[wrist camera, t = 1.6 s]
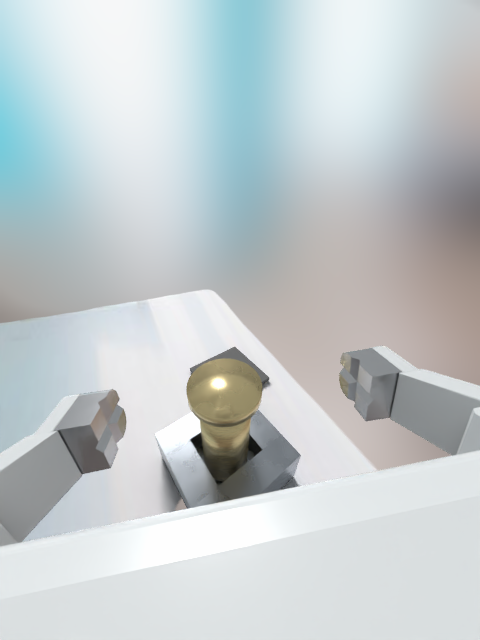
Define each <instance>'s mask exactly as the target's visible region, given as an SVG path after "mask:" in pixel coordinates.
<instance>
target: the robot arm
mask: <svg viewBox="0 0 480 640" xmlns="http://www.w3.org/2000/svg"><path fill="white" fill-rule="evenodd" d="M340 363H341V364H342V365H343V366H344V368H343V369H342V370H341V372H340V375H339V376H340V377H339V381H340V386H341V389H342V391H343V393H344V394H345V396H346V397H347V398H348V399H350V400H353V401H355V406H354V407H355V408H356V410H357V411H358V412H359V413H360V415H361V416H362V417H363V418H364V419H365V421H371V420H377V419H384V418H390V419H391V420H393V421H395V422H396V423H398V424H400V425H402V426H403V427H405V428H407V429H408V430H410V431H412V432H414V433H415V434H417V435H419V436H420V437H422V438H424V439H425V440H427V441H429V442H430V443H432V444H434V445H436V446H437V447H439V448H441V449H442V450H444V451H446V452H447V453H449V454H451V455H452V456H448V457H443V458H438V459H433V460H428V461H423V462H418V463H413V464H408V465H403V466H398V467H393V468H388V469H383V470H378V471H373V472H368V473H363V474H358V475H353V476H348V477H343V478H338V479H333V480H328V481H323V482H318V483H314V484H309V485H304V486H299V487H294V488H289V489H284V490H279V491H274V492H269V493H264V494H259V495H254V496H249V497H244V498H239V499H234V500H229V501H224V502H219V503H214V504H209V505H204V506H199V507H194V508H189V509H184V510H179V511H174V512H169V513H164V514H159V515H154V516H149V517H144V518H139V519H134V520H129V521H124V522H119V523H114V524H109V525H104V526H99V527H94V528H89V529H84V530H79V531H74V532H69V533H64V534H59V535H54V536H49V537H44V538H39V539H34V540H29V541H25V542H22V541H23V540H24V539H25V538H26V537H27V535H28V534H29V533H30V532H31V531H32V530H33V529H34V528H35V527H36V526H37V525H38V523H39V522H40V521H41V520H42V519H43V518H44V517H45V516H46V515H47V514H48V513H49V511H50V510H51V509H52V508H53V507H54V506H55V505H56V504H57V503H58V502H59V501H60V499H61V498H62V497H63V496H64V495H65V494H66V493H67V492H68V491H69V490H70V489H71V487H72V486H73V485H74V484H75V483H76V482H77V481H78V480H79V479H80V478H81V477H82V474H85V473H90V472H95V471H99V470H104V469H109V468H111V466H112V464H113V461H114V459H115V456H116V454H117V451H118V447H117V445H116V443H117V442H118V441H119V440H120V439H121V438H123V435H124V433H125V429H126V416H125V412H124V409H123V408H121V407H120V406H118V405H117V403H118V401H119V397H118V394H117V392H116V391H115V390H113V389H112V390H104V391H97V392H90V393H83V394H76V395H70V396H66V397H64V398H63V399H62V400H61V401H60V402H59V404H58V405H57V406H56V407H55V408H54V410H53V411H52V412H51V413H50V415H49V416H48V417H47V418H46V420H45V421H44V422H43V423H42V424H41V426H40V427H39V428H38V429H37V431H36V432H35V433H34V434H33V435H29V436H26V437H25V438H23V439H22V440H20V441H19V442H17V443H16V444H14V445H13V446H11V447H10V448H8V449H7V450H5V451H3V452H2V453H0V640H480V386H478V385H475V384H472V383H468V382H465V381H461V380H458V379H455V378H451V377H448V376H445V375H441V374H438V373H435V372H431V371H428V370H425V369H420V370H418V369H417V368H415V367H414V366H413V365H411V364H410V363H408V362H407V361H405V360H404V359H403V358H401V357H400V356H399V355H397V354H396V353H394V352H393V351H391V350H390V349H389V348H387V347H385V346H378V347H373V348H369V349H364V350H358V351H353V352H346V353H343V354H342V356H341V362H340Z"/></svg>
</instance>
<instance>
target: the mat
mask: <svg viewBox="0 0 480 640" xmlns="http://www.w3.org/2000/svg"><path fill="white" fill-rule="evenodd" d="M216 359H235V360H239V361H242V362H244V363H246V364H248V365H250V366H251V367H252V368H253V369H254V370H255V371H256V372H257V373H258V374H259V376H260V378H261V381H262V384H263V383H265V382H266V381H268V380H269V377H268V376H267V375H266V374H265V373H264V372H262V371H261V370H260V369H259V368H258V367H257V366H256V365H255V364H254V363H252V362H251V361H250V360H249V359H248V358H247V357H246V356H245V355H244V354H242V353H241V352H240V351H239V350H238V349H237V348H236V347H233V348H231V349H229V350H227V351H225V352H223V353H221V354H219V355H217V356H215V357H212V358H210V359H208V360H206V361H204V362H202V363H200V364H198V365H196V366H194V367H192V368H190V371H191V372H192V373H193V372H194V371H195V370H196V369H197V368H198V367H200V366H201V365H203V364H205V363H207V362H209V361H212V360H216Z"/></svg>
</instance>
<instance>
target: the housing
mask: <svg viewBox="0 0 480 640" xmlns="http://www.w3.org/2000/svg"><path fill="white" fill-rule="evenodd" d="M155 437H156V440H157V443H158V446H159V449H160V452H161V455H162V458H163V460H164V462H165V464H166V466H167V468H168V470H169V472H170V474H171V476H172V478H173V480H174V482H175V484H176V486H177V489H178V491H179V493H180V495H181V497H182V499H183V501H184V503H185V505H186V507H187V509H189V508H194V507H199V506H204V505H209V504H214V503H219V502H224V501H229V500H234V499H239V498H244V497H249V496H254V495H259V494H264V493H269V492H274V491H279V490H280V489H281V488H282V487H283V486H284V485H285V484H286V483H287V482H288V481H289V480H290V479H291V478H292V477H293V476H294V474H295V471H296V468H297V465H298V462H299V459H300V456H301V455H300V454H299V453H298V452H297V451H296V450H295V449H294V448H293V446H292V445H291V444H290V443H289V442H288V441H287V440H286V439H285V438H284V437H283V436H282V435H281V434H280V433H279V431H278V430H277V429H276V428H275V427H274V426H273V425H272V424H271V423H270V422H269V421H268V420H267V419H266V418H265V416H264V415H263V414H262V413H261V412H260V411H259V410H257V411H256V413H255V414H254V415H253V416H252V417H251V422H250V433H249V445H248V456H247V463H246V464H245V465H244V466H242V467H241V468H240V469H239V470H237V471H236V472H235V473H234V474H233V475H231V476H230V477H229V478H228V479H226V480H225V481H219V480H217V479H215V478H213V477H212V475H211V474H210V472H209V470H208V469H207V467H206V465H205V463H204V454H203V446H202V437H201V429H200V421H199V419H198V418H197V417H196V416H195V415H194V414H193V413H190V414H188V415H187V416H185V417H183V418H181V419H180V420H178V421H176V422H175V423H173V424H171V425H170V426H168V427H166V428H165V429H163V430H161V431H159V432H158V433H156V434H155Z"/></svg>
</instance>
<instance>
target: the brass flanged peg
mask: <svg viewBox="0 0 480 640" xmlns="http://www.w3.org/2000/svg"><path fill="white" fill-rule="evenodd" d="M261 396H262V381H261V378H260V376H259V374H258V373H257V372H256V371H255V370H254V369H253V368H252V367H251V366H250V365H248V364H246V363H244V362H242V361H239V360H235V359H216V360H212V361H209V362H207V363H205V364H203V365H201V366H200V367H198V368H197V369H196V370H195V371H194V372H193V373H192V375H191V376H190V378H189V380H188V383H187V398H188V403H189V407H190V409H191V411H192V413H193V414H194V415H195V416H196V417H197V418H198V419H199V421H200V429H201V437H202V446H203V454H204V463H205V465H206V467H207V469H208V470H209V472H210V474H211V475H212V477H213V478H215V479H217V480H219V481H225V480H226V479H228V478H229V477H230V476H231V475H233V474H234V473H235V472H236V471H237V470H239V469H240V468H241V467H242V466H244V465H245V464H246V463H247V456H248V445H249V433H250V422H251V417H252V416H253V415H254V414H255V413H256V411H257V410H258V408H259V406H260V403H261Z"/></svg>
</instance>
